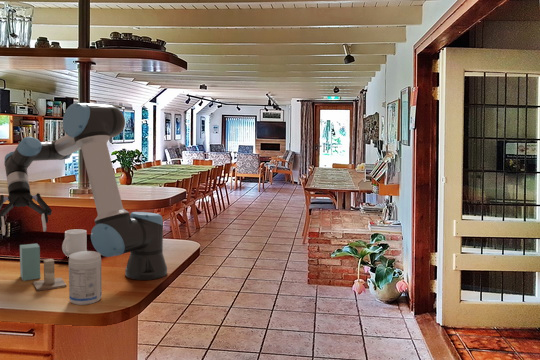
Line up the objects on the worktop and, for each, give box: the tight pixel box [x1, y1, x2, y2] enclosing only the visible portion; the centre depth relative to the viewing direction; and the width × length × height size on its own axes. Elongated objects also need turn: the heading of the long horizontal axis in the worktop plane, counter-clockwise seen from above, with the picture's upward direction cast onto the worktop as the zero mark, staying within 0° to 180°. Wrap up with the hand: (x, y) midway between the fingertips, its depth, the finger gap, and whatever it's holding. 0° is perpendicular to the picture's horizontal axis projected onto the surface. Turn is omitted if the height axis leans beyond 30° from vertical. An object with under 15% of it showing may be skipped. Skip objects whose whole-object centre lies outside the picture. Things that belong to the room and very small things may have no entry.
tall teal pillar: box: [19, 243, 41, 281], centre depth 166 cm, size 6×6×11 cm
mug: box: [61, 228, 88, 258], centre depth 193 cm, size 12×8×10 cm
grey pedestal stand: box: [32, 258, 67, 292], centre depth 159 cm, size 9×9×9 cm
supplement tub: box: [68, 250, 103, 306], centre depth 146 cm, size 10×10×15 cm
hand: (25, 231), depth 173 cm, fingers open, 13 cm apart
